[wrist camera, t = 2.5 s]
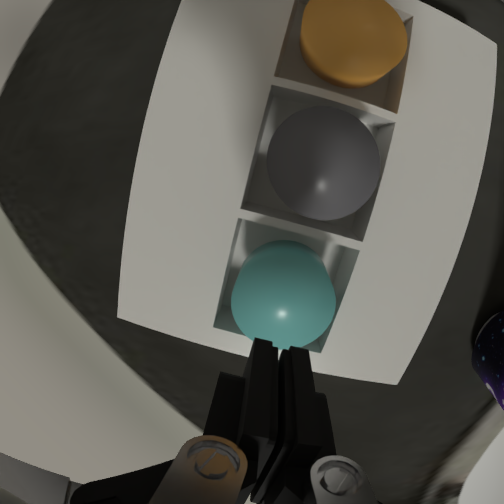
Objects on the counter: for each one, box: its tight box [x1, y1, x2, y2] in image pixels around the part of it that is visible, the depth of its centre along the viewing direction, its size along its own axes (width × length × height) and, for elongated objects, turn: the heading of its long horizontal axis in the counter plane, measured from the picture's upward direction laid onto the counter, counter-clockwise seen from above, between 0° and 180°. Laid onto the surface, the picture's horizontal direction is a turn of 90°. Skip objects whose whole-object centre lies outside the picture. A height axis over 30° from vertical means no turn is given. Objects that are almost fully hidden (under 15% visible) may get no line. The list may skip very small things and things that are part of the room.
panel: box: [117, 0, 497, 385], centre depth 14 cm, size 20×16×3 cm
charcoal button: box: [267, 106, 381, 220], centre depth 13 cm, size 4×4×2 cm
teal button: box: [231, 240, 336, 350], centre depth 14 cm, size 4×4×2 cm
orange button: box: [299, 0, 407, 89], centre depth 11 cm, size 4×4×2 cm
